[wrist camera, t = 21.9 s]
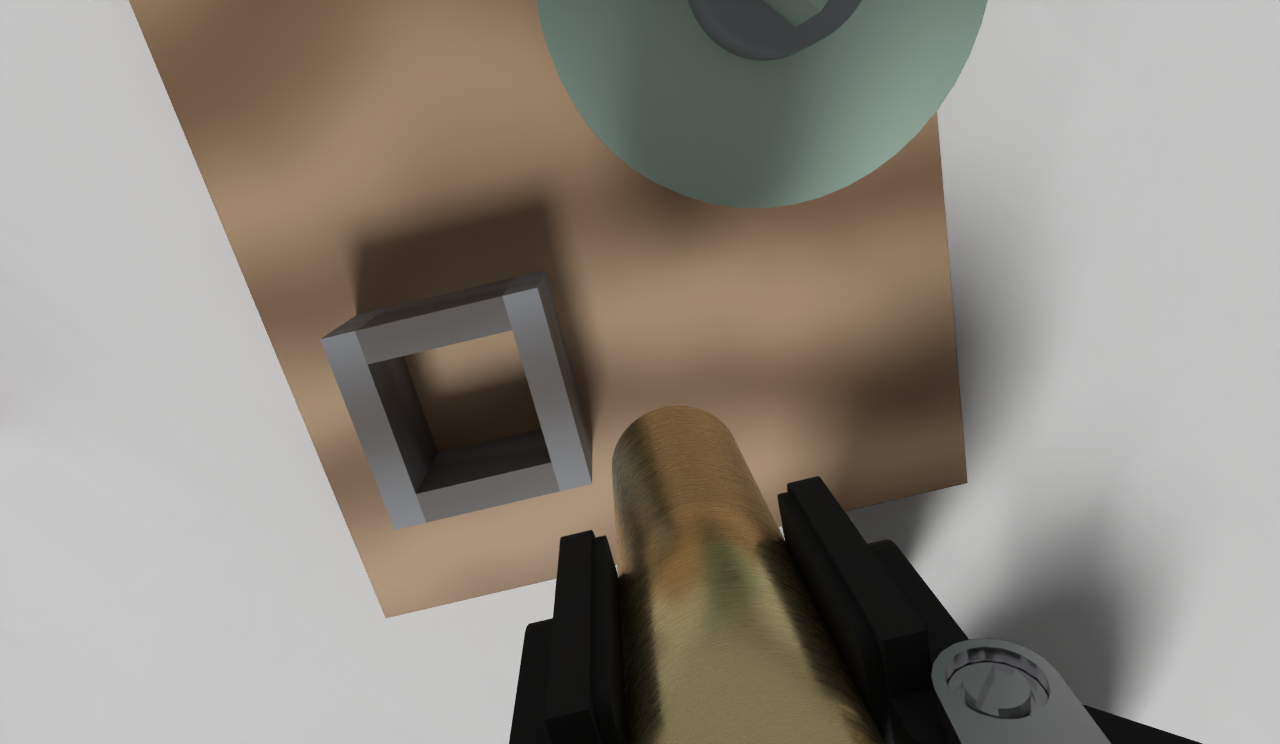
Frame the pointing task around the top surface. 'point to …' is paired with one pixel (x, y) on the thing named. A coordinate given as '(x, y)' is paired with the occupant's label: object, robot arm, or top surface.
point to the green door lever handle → (758, 86)
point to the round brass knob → (717, 600)
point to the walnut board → (539, 286)
